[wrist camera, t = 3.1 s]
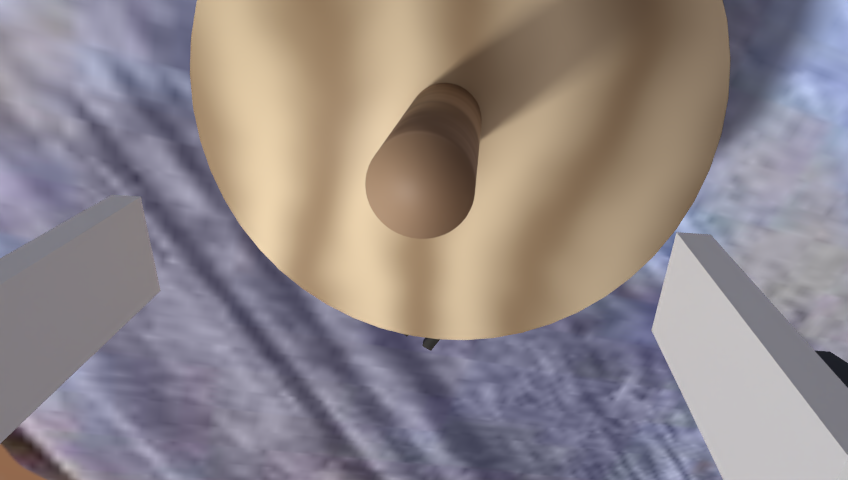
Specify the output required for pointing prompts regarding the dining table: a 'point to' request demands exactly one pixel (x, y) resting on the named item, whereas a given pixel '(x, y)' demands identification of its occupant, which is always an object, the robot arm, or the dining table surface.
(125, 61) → the dining table surface
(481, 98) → the lid
